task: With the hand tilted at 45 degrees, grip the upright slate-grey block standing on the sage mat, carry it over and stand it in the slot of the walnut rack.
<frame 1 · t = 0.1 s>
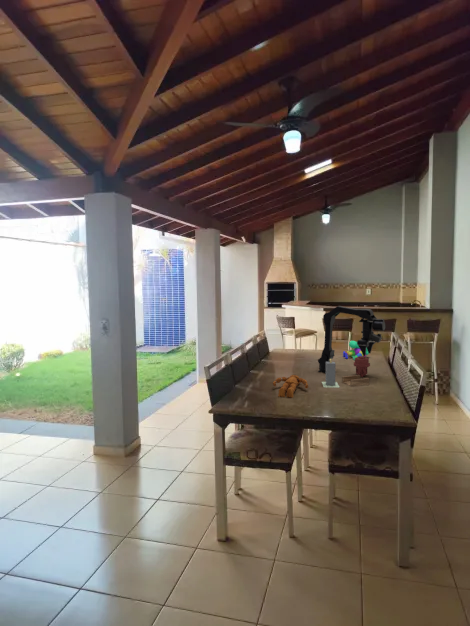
hand: (366, 354, 256), 15 cm above the table, tool pointing down, fingers open, 9 cm apart
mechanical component: (361, 376, 263), on the table
slate block: (330, 384, 242), resting on sage mat
walnut rack: (355, 383, 244), on the table
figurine: (356, 358, 319), on the table
toy: (290, 390, 233), on the table
sage mat: (330, 385, 242), on the table
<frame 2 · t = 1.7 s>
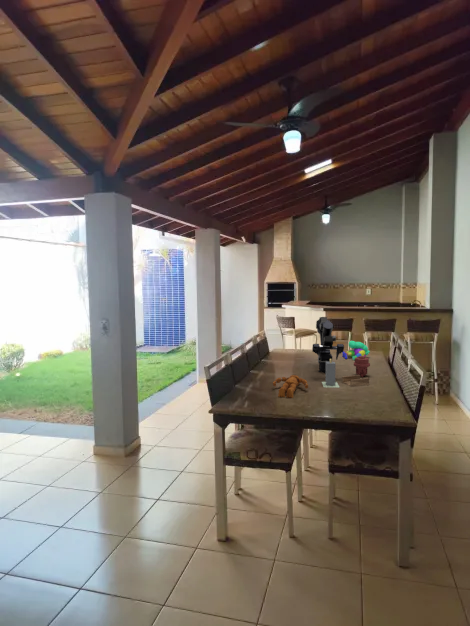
hand: (329, 359, 249), 13 cm above the table, tool tilted 45°, fingers open, 9 cm apart
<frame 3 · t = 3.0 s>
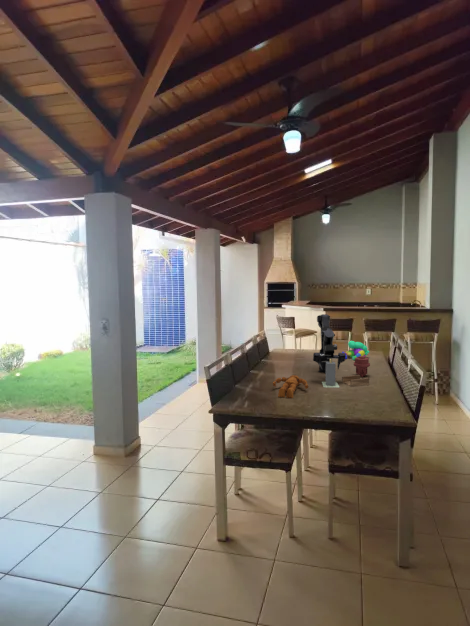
hand: (330, 368, 242), 9 cm above the table, tool tilted 45°, fingers open, 9 cm apart
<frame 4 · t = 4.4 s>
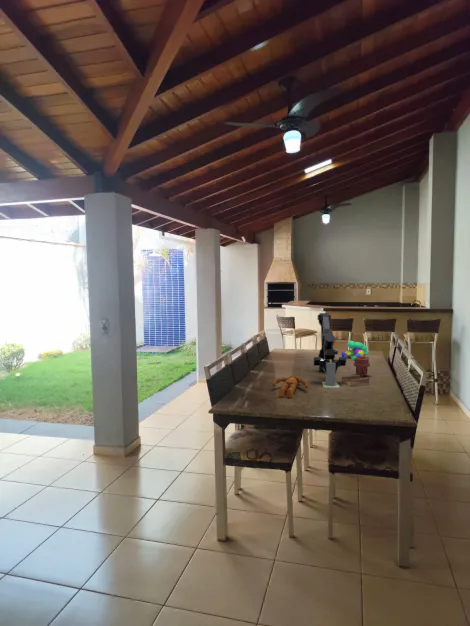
hand: (330, 373, 240), 7 cm above the table, tool tilted 45°, fingers closed on slate block, 5 cm apart
slate block: (330, 384, 242), resting on sage mat, touching gripper
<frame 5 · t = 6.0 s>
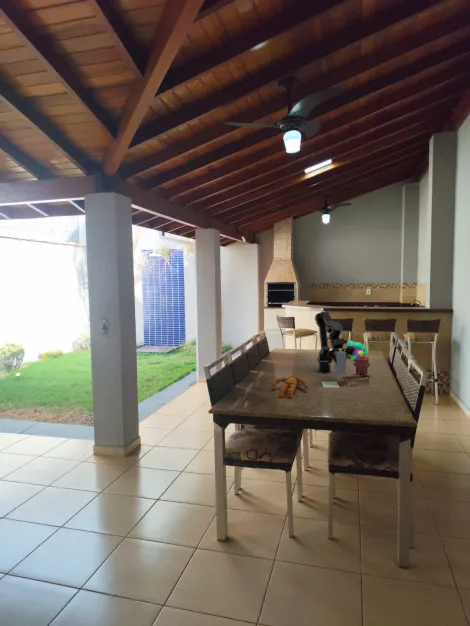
hand: (340, 362, 239), 13 cm above the table, tool tilted 45°, fingers closed on slate block, 5 cm apart
slate block: (339, 373, 241), point 7 cm above the table, touching gripper
when the fingers open (10 cm above the table, at t = 7.9 s): slate block drops 2 cm, resting on walnut rack.
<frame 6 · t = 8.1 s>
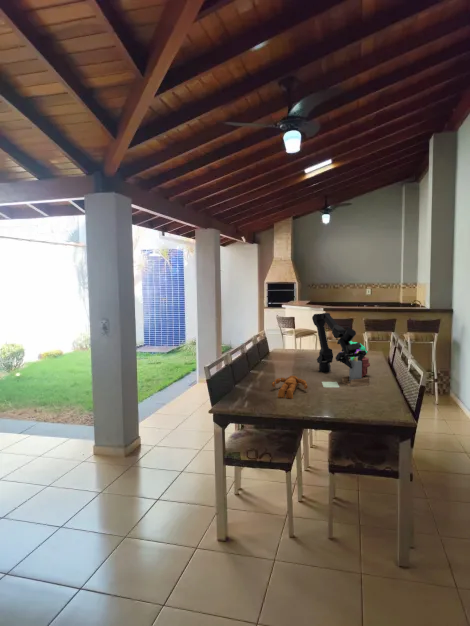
hand: (357, 367, 241), 10 cm above the table, tool tilted 45°, fingers open, 7 cm apart
slate block: (355, 382, 244), point 1 cm above the table, touching walnut rack
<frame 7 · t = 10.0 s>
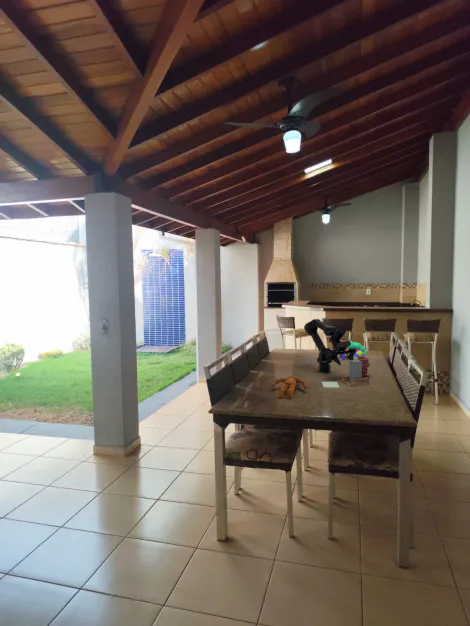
hand: (346, 364, 251), 10 cm above the table, tool tilted 45°, fingers open, 9 cm apart
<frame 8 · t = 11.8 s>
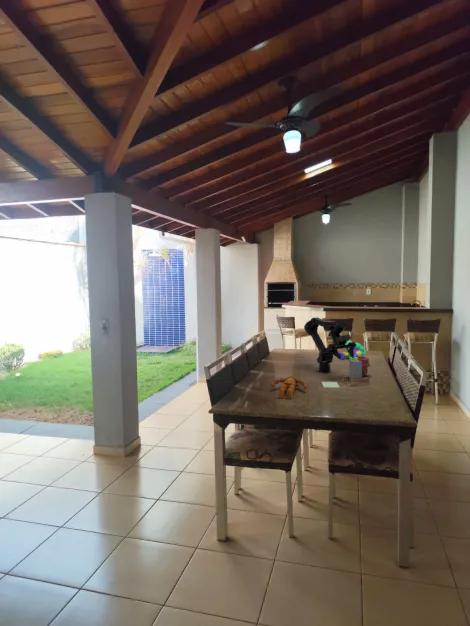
hand: (346, 358, 250), 14 cm above the table, tool tilted 45°, fingers open, 9 cm apart
at the end: slate block inside the target area on the walnut rack (0.0 cm from its centre), point 0.8 cm above the walnut rack's base; slate block tilted 0°; the gripper is holding nothing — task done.
